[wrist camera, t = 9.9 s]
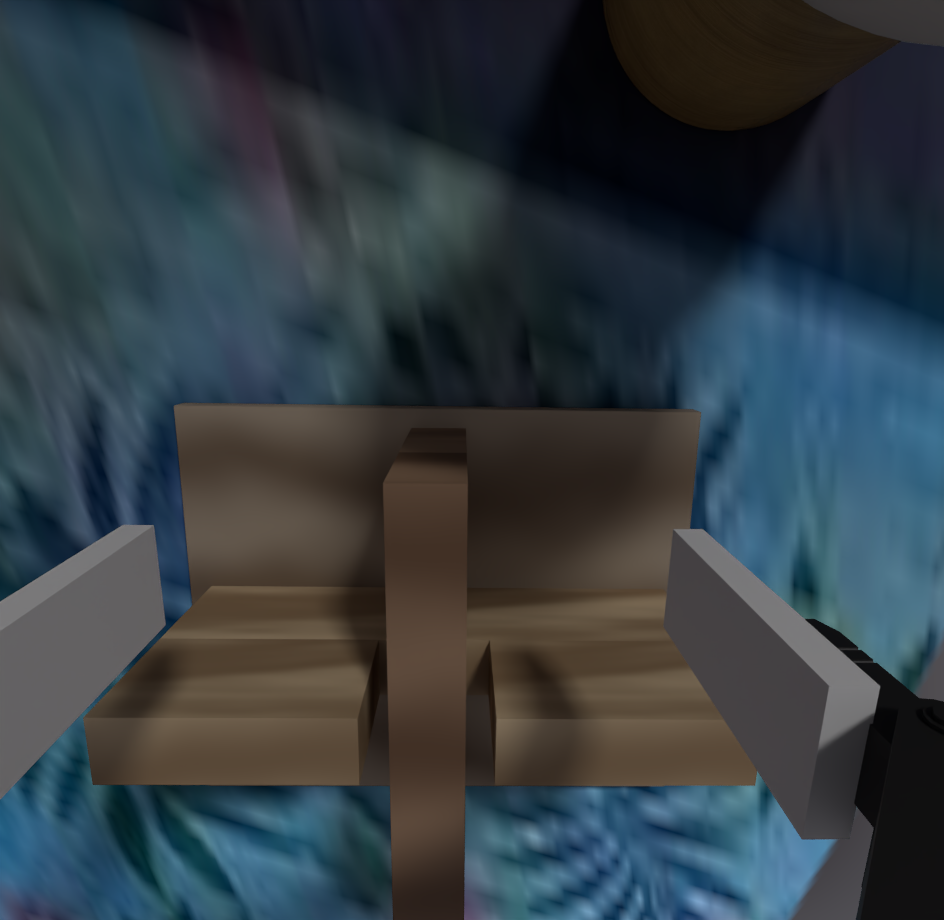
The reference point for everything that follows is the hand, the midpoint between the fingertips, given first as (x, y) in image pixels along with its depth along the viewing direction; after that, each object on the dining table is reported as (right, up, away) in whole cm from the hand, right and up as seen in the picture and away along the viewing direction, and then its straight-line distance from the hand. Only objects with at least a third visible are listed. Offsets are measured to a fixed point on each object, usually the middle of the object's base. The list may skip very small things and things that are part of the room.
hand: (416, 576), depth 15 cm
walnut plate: (0, -4, +14) cm, 15 cm away
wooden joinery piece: (0, -4, +15) cm, 16 cm away
